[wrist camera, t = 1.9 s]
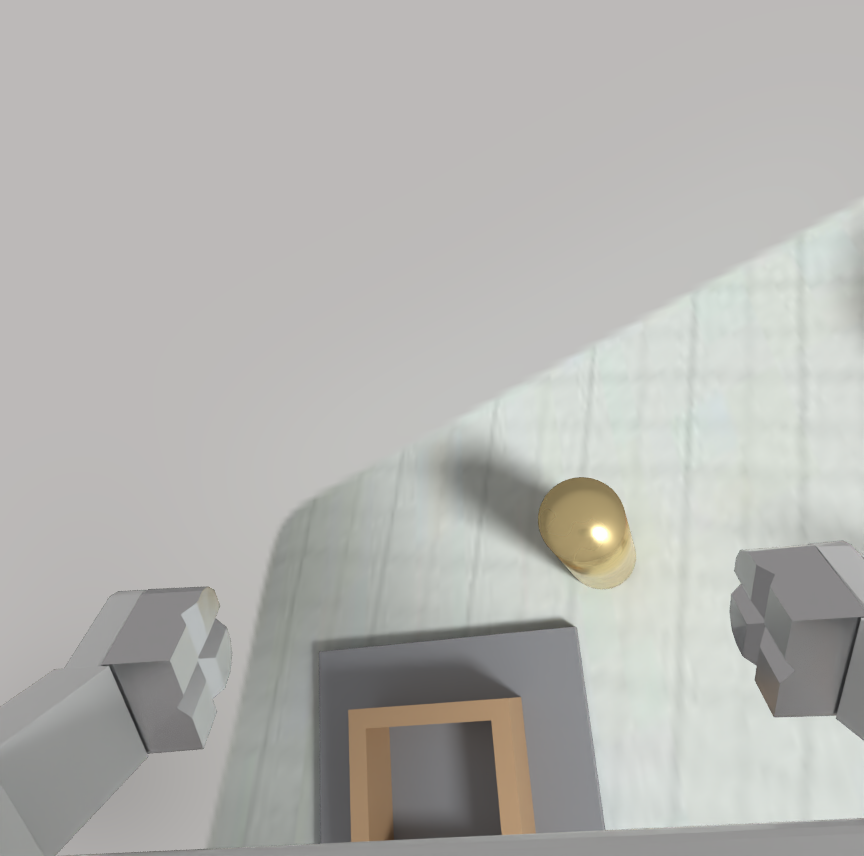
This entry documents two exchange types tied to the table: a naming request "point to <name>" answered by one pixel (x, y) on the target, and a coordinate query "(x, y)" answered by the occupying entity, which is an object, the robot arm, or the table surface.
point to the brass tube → (588, 532)
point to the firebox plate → (457, 739)
